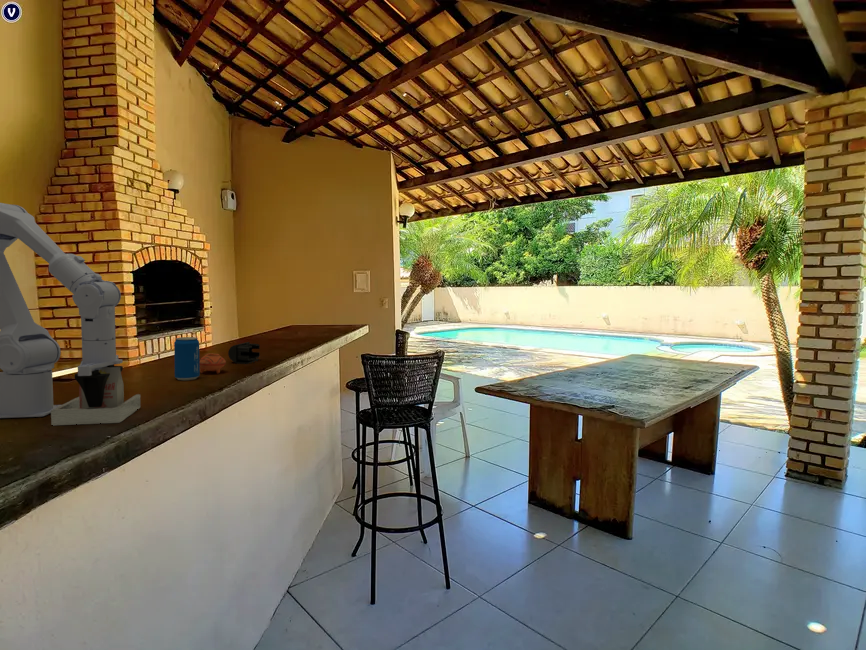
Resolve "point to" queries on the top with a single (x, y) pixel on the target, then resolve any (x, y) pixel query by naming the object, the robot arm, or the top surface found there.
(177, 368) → the beverage can
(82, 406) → the tea bag
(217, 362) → the pot
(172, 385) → the top surface
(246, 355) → the end cap
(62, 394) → the top surface
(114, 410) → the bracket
